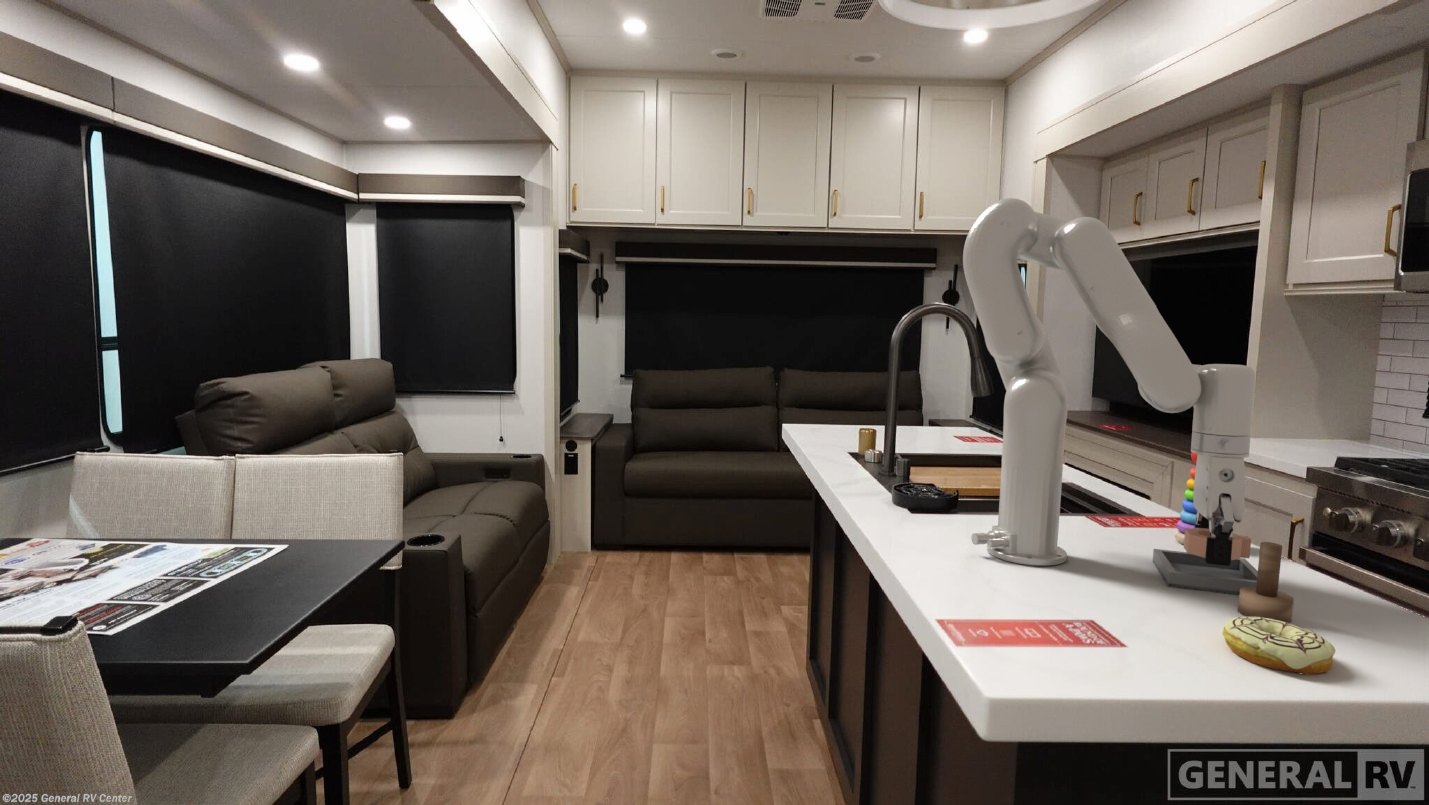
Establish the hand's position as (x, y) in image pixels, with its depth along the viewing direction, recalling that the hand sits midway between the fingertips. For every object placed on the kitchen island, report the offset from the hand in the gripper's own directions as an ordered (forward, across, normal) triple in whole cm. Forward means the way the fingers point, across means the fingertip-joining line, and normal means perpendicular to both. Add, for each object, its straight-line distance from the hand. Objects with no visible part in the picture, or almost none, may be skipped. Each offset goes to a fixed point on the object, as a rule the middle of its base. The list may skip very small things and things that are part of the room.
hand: (1211, 556), depth 119 cm
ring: (-1, 0, 0) cm, 1 cm away
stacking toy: (+4, +22, -3) cm, 22 cm away
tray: (+4, 0, 0) cm, 4 cm away
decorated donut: (+4, -30, 0) cm, 30 cm away
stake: (+4, -14, -3) cm, 15 cm away
